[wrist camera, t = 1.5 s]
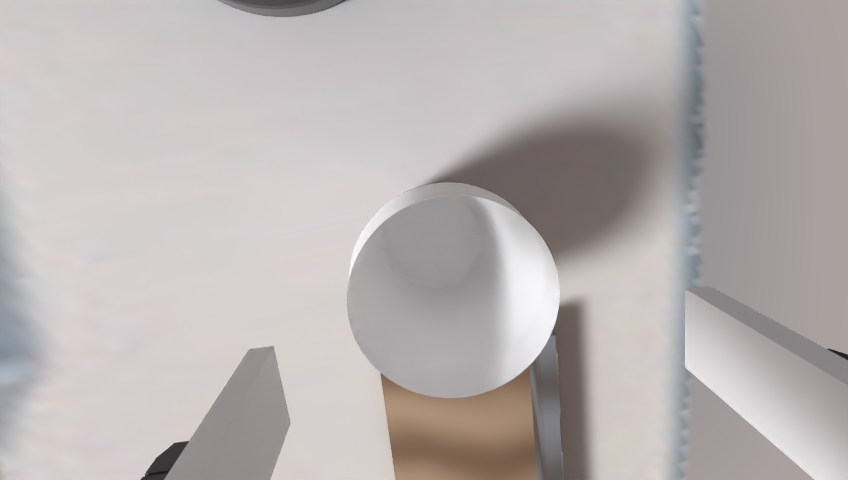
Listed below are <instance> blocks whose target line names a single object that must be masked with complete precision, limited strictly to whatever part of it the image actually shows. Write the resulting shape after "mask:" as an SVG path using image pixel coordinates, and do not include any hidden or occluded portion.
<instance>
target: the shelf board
mask: <svg viewBox="0 0 848 480" xmlns="http://www.w3.org/2000/svg"><path fill="white" fill-rule="evenodd" d="M381 380H382V387H383V394H384V401H385V408H386V415H387V422H388V429H389V436H390V443H391V450H392V457H393V465H394V472H395V479H396V480H564V462H563V450H562V448H561V430H560V416H561V406H560V387H559V369H558V352H557V350H556V338H555V334H554V333H553V332H552V333H551V335H550V337H549V339H548V341H547V343H546V345H545V346H544V348H543V349H542V351H541V352H540V354H539V355H538V356H537V357H536V359H535V360H534V361H533V362H532V363H531V364H530V365H529V366H528V367H527V368H526V369H525V370H524V371H523V372H521V373H520V374H519V375H518V376H516V377H515V378H514V379H512V380H511V381H509V382H507V383H505V384H504V385H502V386H500V387H498V388H496V389H493V390H491V391H488V392H485V393H482V394H478V395H475V396H469V397H462V398H439V397H431V396H426V395H422V394H419V393H415V392H413V391H410V390H407V389H405V388H403V387H401V386H399V385H397V384H396V383H394V382H392V381H391V380H389V379H388V378H387V377H385V376H384V375H383V374H381Z"/></svg>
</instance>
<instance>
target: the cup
mask: <svg viewBox="0 0 848 480" xmlns="http://www.w3.org/2000/svg"><path fill="white" fill-rule="evenodd" d="M559 300H560V286H559V278H558V273H557V268H556V265H555V262H554V259H553V257H552V255H551V252H550V250H549V248H548V247H547V245H546V243H545V241H544V240H543V239H542V237H541V236H540V234H539V233H538V232H537V231H536V230H535V229H534V227H533V226H532V225H531V224H530V223H528V222H527V221H526V219H525V218H524V217H523V216H522V215H521V214H520V212H519V211H518V210H517V209H515V208H514V207H513V206H512V205H511V204H510V203H508V202H507V201H506V200H504V199H503V198H501V197H499V196H498V195H496V194H494V193H492V192H490V191H488V190H485V189H482V188H479V187H476V186H472V185H468V184H463V183H451V182H444V183H434V184H428V185H424V186H420V187H417V188H414V189H411V190H409V191H407V192H405V193H403V194H401V195H399V196H397V197H396V198H394V199H392V200H391V201H390V202H388V203H387V204H386V205H384V206H383V207H382V208H381V209H380V210H379V211H378V212H377V213H376V214H375V215H374V216H373V218H372V219H371V220H370V221H369V222H368V224H367V225H366V227H365V228H364V230H363V231H362V233H361V235H360V237H359V239H358V241H357V243H356V245H355V248H354V251H353V254H352V258H351V263H350V271H349V283H348V292H347V307H348V316H349V321H350V325H351V328H352V331H353V334H354V337H355V339H356V341H357V343H358V345H359V347H360V349H361V350H362V352H363V353H364V355H365V356H366V358H367V359H368V360H369V361H370V362H371V364H372V365H373V366H374V367H375V368H376V369H377V370H378V371H379V372H380V373H381V374H383V375H384V376H385V377H387V378H388V379H389V380H391V381H392V382H394V383H396V384H397V385H399V386H401V387H403V388H405V389H407V390H410V391H413V392H415V393H419V394H422V395H426V396H431V397H439V398H462V397H469V396H475V395H478V394H482V393H485V392H488V391H491V390H493V389H496V388H498V387H500V386H502V385H504V384H505V383H507V382H509V381H511V380H512V379H514V378H515V377H516V376H518V375H519V374H520V373H521V372H523V371H524V370H525V369H526V368H527V367H528V366H529V365H530V364H531V363H532V362H533V361H534V360H535V359H536V357H537V356H538V355H539V354H540V352H541V351H542V349H543V348H544V346H545V345H546V343H547V341H548V339H549V337H550V335H551V333H552V330H553V328H554V325H555V322H556V319H557V314H558V309H559Z"/></svg>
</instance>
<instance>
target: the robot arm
mask: <svg viewBox="0 0 848 480" xmlns="http://www.w3.org/2000/svg"><path fill="white" fill-rule="evenodd" d="M218 1H220V2H222V3H224V4H227V5H229V6H231V7H234V8H236V9H239V10H242V11H245V12H249V13H253V14H258V15H264V16H273V17H290V16H300V15H306V14H311V13H315V12H318V11H321V10H324V9H327V8H329V7H332V6H334V5H336V4H338V3H340V2H342V1H343V0H218ZM685 367H686V368H687V369H688V370H689V371H690V372H691V373H692V374H694V375H695V376H696V377H697V378H698V379H699V380H701V381H702V382H703V383H704V384H705V385H706V386H708V387H709V388H710V389H711V390H712V391H713V392H714V393H716V394H717V395H718V396H719V397H720V398H721V399H722V400H724V401H725V402H726V403H727V404H728V405H729V406H730V407H732V408H733V409H734V410H735V411H736V412H738V413H739V414H740V415H741V416H742V417H743V418H744V419H746V420H747V421H748V422H749V423H750V424H751V425H752V426H754V427H755V428H756V429H757V430H758V431H759V432H761V433H762V434H763V435H764V436H765V437H766V438H767V439H769V440H770V441H771V442H772V443H773V444H774V445H775V446H777V447H778V448H779V449H780V450H781V451H782V452H784V453H785V454H786V455H787V456H788V457H789V458H791V459H792V460H793V461H794V462H795V463H796V464H797V465H798V466H800V467H801V468H802V469H803V470H804V471H805V472H806V473H808V474H809V475H810V476H811V477H812V478H813V479H815V480H848V355H847V354H844V353H841V352H838V351H835V350H831V349H825V348H824V347H822V346H820V345H818V344H816V343H815V342H813V341H811V340H809V339H807V338H805V337H803V336H801V335H800V334H798V333H796V332H794V331H792V330H790V329H788V328H787V327H785V326H783V325H781V324H779V323H777V322H775V321H773V320H772V319H770V318H768V317H766V316H764V315H762V314H761V313H759V312H757V311H755V310H753V309H751V308H749V307H748V306H746V305H744V304H742V303H740V302H738V301H736V300H735V299H733V298H731V297H729V296H727V295H725V294H723V293H721V292H720V291H718V290H716V289H714V288H712V287H710V286H702V287H695V288H688V289H685ZM289 426H290V419H289V414H288V409H287V405H286V400H285V396H284V391H283V387H282V382H281V378H280V373H279V369H278V364H277V360H276V355H275V351H274V346H271V347H264V348H257V349H250V350H249V351H248V352H247V354H246V355H245V357H244V358H243V360H242V361H241V363H240V364H239V366H238V367H237V369H236V370H235V372H234V373H233V375H232V377H231V378H230V380H229V381H228V383H227V384H226V386H225V387H224V389H223V390H222V392H221V393H220V395H219V396H218V398H217V399H216V401H215V403H214V404H213V406H212V407H211V409H210V410H209V412H208V413H207V415H206V416H205V418H204V419H203V421H202V422H201V424H200V425H199V427H198V428H197V430H196V432H195V433H194V435H193V436H192V438H191V439H190V441H186V442H178V443H174V444H173V445H172V446H170V447H169V448H168V449H167V450H166V451H164V452H163V453H162V454H161V455H159V456H158V457H157V458H156V459H155V461H154V462H153V463H152V465H151V466H150V468H149V469H148V470H147V472H146V473H145V477H142V479H141V480H270V478H271V476H272V473H273V470H274V467H275V465H276V462H277V459H278V456H279V453H280V451H281V448H282V445H283V442H284V440H285V437H286V434H287V431H288V428H289Z"/></svg>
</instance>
